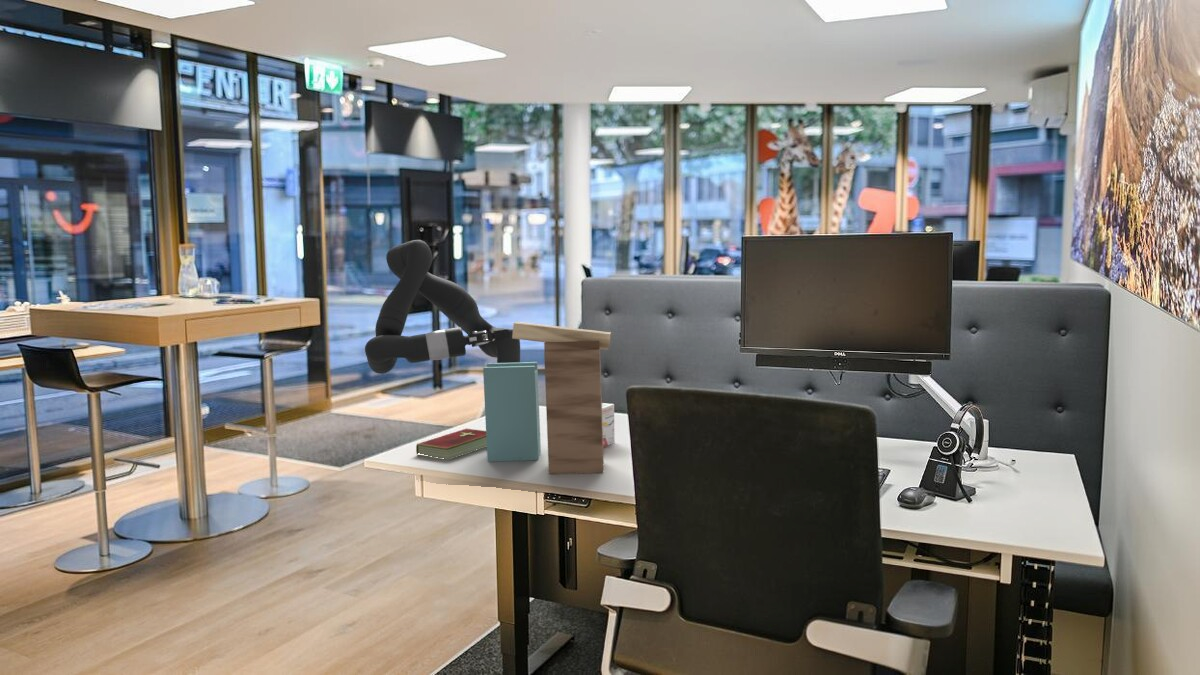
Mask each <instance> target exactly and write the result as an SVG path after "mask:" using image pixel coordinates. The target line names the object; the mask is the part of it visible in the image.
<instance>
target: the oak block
mask: <svg viewBox="0 0 1200 675" xmlns="http://www.w3.org/2000/svg"><path fill="white" fill-rule="evenodd" d="M512 324H513V325H512V326H513V327H512V329H513V334H512V339H520V340H522V341H530V342H538V343H545V342H576V341H599V348H600V350H607V351H608V350H609V349H610V346H611V335H612V332H611V331H601V330H594V329H584V328H573V327H567V326H557V325H549V324H539V323H532V322H522V321H515V322H513V323H512Z"/></svg>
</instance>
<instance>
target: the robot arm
mask: <svg viewBox="0 0 1200 675" xmlns="http://www.w3.org/2000/svg"><path fill="white" fill-rule="evenodd" d="M432 263H433V253H432V250H431V248H430V246H429V245H428V243H426V242H425V241H424V240H421V239H413V240H410V241H406V242H403V243H401V244H398V245H396V246H393V247H391V248H390V249H389V250H388V251H387V253H386V264H387V266H388V268H389V270H390V271H391V272H392V273H393V275H395V277H397V278H398V279H399V281H398V282H397V284H396V285H395V287H393V289H392V290H391V292H390V293H389V294H388V296H387V298H386V299H385V300H384V302H383V304H382V306H381V308H380V311H379V314H378V317H377V320H376V323H375V336H374V337H372V338H371V339H369V340H368V341H367V342H366V344H365V345H364V353H365V356H366V359H367V363H368V366H369V368H370V369H371V370H372V371H373V372H374V373H376V374H378V375H379V374H380V375H382V374H383V375H384V374H387V373H389V372H390V371H392V370H393V369H394V367H395V366H396V364H397V361H398V359H405V360H406V361H407V362H408V363H410V364H418V363H422V362H428V361H439V360H446V359H451V358H459V357H463V356H466V353H467V351H466V346H471V347H472V348H474V347H478V348H479V349H480V350H481V352H483V354H485V355H487V356H488V357H491V358H496V363H520V362H521V341H520V339H512V334H513V328H507V327H506V328H505V327H496V326H494V325H492V324H491V323H489V322H488V321H487V320H485V319H484V318H483V317H482V315H481V314H480V311H479V307H478V304H477V302H476V300H475V299H474V298H473V296H472V295H471V294H470V293H468V291H466V290H465V289H464V288H463V287H462V286H460V285H459V284H457V283H456V282H453V281H452V280H449V279H445V278H442V277H439V276H437V275H435V274H432V273H430V272H429V270H430V268H431V266H432ZM418 293H419V294H420V295H422V296H423V297H424V298H425V299H426V300H428V301H429V302H430V303H431V304H432V305H433V306H435V307H436V308H437V309H438V310H439V312H441V313H442V314H443V315H444V316H445V317H447V319H448V320H450V321H451V322H452V323H453V324H455V325H456V327H451V328H445V329H438V330H432V331H430V332H427V333H421V334H414V335H410V336H409V335H407V336H406V335H403V332H404V328H405V325H406V322H407V319H408V315H409V313H410V310H411V308H412V304H413V302H414V300H415V299H416V296H417V294H418ZM463 332H464V333H465V334H466V335H464V333H463Z"/></svg>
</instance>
